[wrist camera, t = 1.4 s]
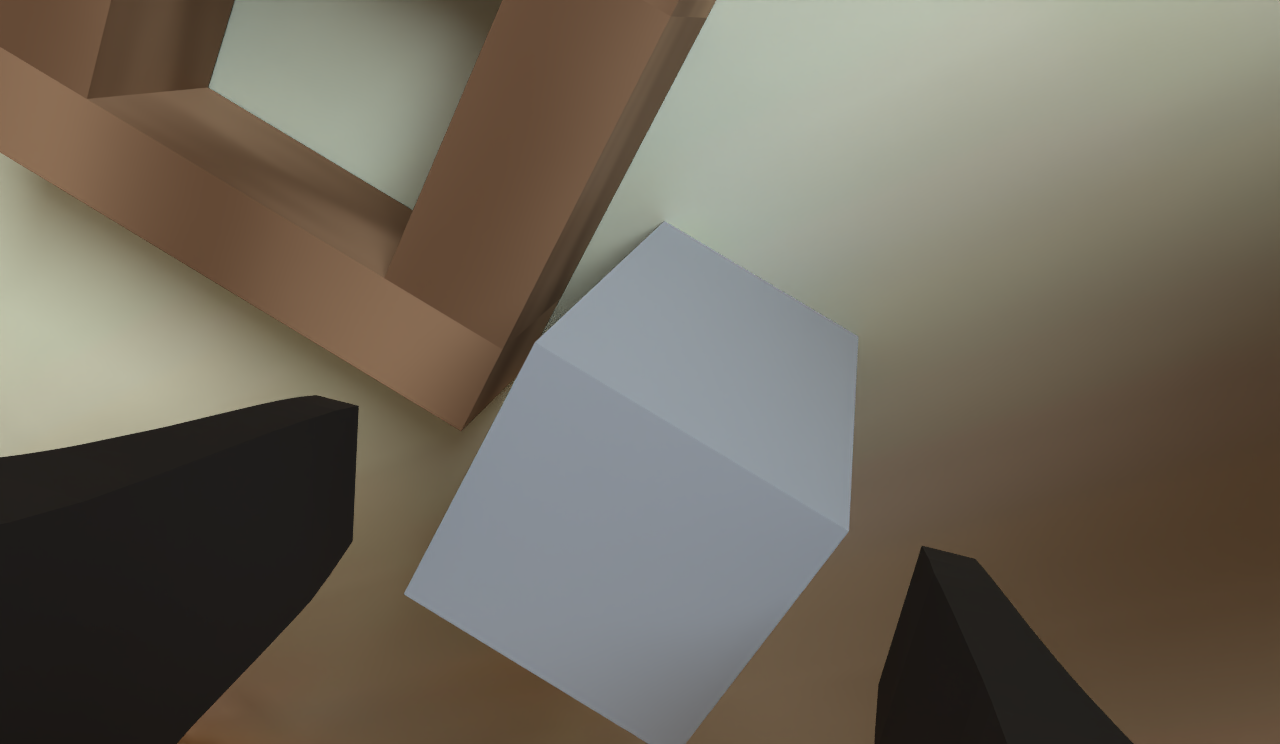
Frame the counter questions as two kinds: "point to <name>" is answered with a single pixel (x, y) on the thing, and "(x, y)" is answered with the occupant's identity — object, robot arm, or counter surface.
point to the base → (336, 199)
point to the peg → (653, 488)
